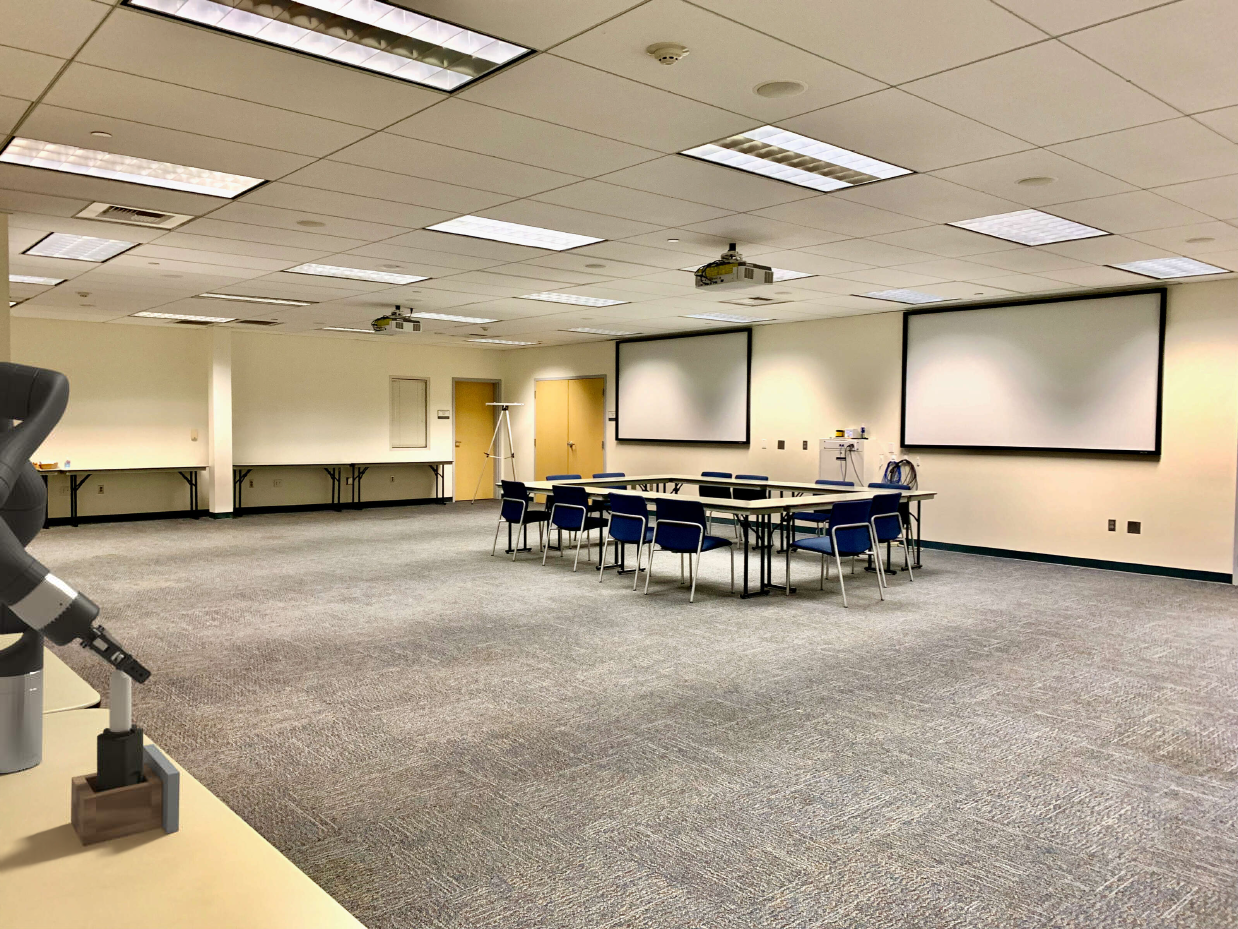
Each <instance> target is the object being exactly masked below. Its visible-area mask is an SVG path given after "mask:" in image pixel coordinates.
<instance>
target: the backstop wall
mask: <svg viewBox="0 0 1238 929" xmlns="http://www.w3.org/2000/svg"><path fill="white" fill-rule="evenodd" d="M143 763H147V764H148V766H149V767H150V768H151V769H152V770H153V771H154V773H155V774H156V775H157V776H158V777H159V779H160V780H161V781H162V782H163V788H162V827H161V828H162V829H163V830H164V831H165V833H167V834H170V833H174V832H178V831H180V830H179V829H180V827H179V825H180V788H181V787H180V783H181V782H180V780H181V779H180V778H181V777H180V775H181V773H180V771H179V770H178V769H177V768H176V767H175V765H174V764H173V763H172V762H171V761H170V760H169V759H168V758H167V757H166V755H164V754H163V752H162V751H161V750H160V749H159V748H158V747H157V745H156V744H155V743H152V744H146V745H143Z"/></svg>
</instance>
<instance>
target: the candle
mask: <svg viewBox="0 0 1238 929" xmlns="http://www.w3.org/2000/svg"><path fill="white" fill-rule="evenodd" d="M123 657H124V656H123V655H119V656H118V657H117V658H118V662H119V661H120V660H121V659H122V658H123ZM118 662H117V663H118ZM115 668H116V667H114V671H113V672H112V673H111V675H110V676H109V679H108V680H109V685H108V686H109V693H108V694H109V707H108V708H109V709H108V710H109V713H108V714H109V720H108V721H109V727H106V728H104V729H103V730H102V733H99V734H98V735H97V736H96V773H97V793H98V792H102V791H107V790H112V789H117V788H121V787H126V786H131V785H136V784H140V783H143V746H144V729H143V728H140V727H138V725H137V724H135V723H132V678H131V677H130V676H128V675H127V674H126V673H124V672H123V671H120V670H116V669H115Z"/></svg>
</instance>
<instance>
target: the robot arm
mask: <svg viewBox="0 0 1238 929" xmlns="http://www.w3.org/2000/svg"><path fill="white" fill-rule="evenodd" d="M69 398H70V382H69V380H68V377H67V375H66V374H64V373H62V372H61V371H60V372H59V371H57V370H54V369H49V368H42V367H36V366H33V365H26V364H21V363H17V362H9V361H0V635H1V636H5V635H14V634H15V635H16V634H22V635H21V637H19V639H18V640H16V641H15V642H13V643H12V644H11V645H7V647H4V648H3V649H0V774H7V773H15V772H19V770H20V771H23V769H24V770H26V768H27V769H30V768H32V767H33V768H34V767H35V766H37V765H38V763H39V764H40V763H41V762H42V761H43V730H44V729H43V728H44V727H43V726H44V724H43V723H44V720H43V718H44V667H45V666H44V663H45V662H44V659H45V658H44V656H45V654H44V652H45V638H46V639H48V641H50V642H51V643H53V644H54V645H55V646H57V647H65V646H67V645H69V644H70V643H72V642H73V641H74V640H75V639H80V640H81V641H80V642H79V643H78V646H80V647H81V649H84V650H85V652H87V653H88V654H90V655H93V656H95V657H96V658H97V659H99V660H100V661H101V662H103V663H104V664H106V665H109V664H111V665H112V666H113V667H114V670H115V669H116V670H120V671H123V672H124V673H126V674H127V675H128V676H130V677H131V680H134V681H135V682H136V683H138V684H139V685H143V684H145V682H146V681H147V680H149V678H150V677H151V676H152V672H151V671H150V670H149V669H148V668H147V667H145V666H144V665H143V664H141V663H140V662H139V661H138V660H137V659H136V658H135V657H134V655H132V654H131V653H128V652H127V651H126V650H125V647H126V646H125V645H124V643H121V642H120V641H119V640H118V639H117V638H116V637H115V636H114V635H113V633H112V632H110V630H108V629H107V628H105V627H104V626H103V625H102V624H101V623H100V624H98V625H97V626H95V625H94V624H93V623H94V621H95V620H96V619H97V618H98V616H99V615H100V612H101V609H100V606H99V605H98V604H96V603H95V602H94V601H93V600H92V599H90V598H89V597H87V596H86V595H85V594H84V593H82V592H81V591H80V590H79V589H77V588H76V587H75V586H74V585H72V584H71V583H70V582H68V580H66V579H64V578H63V577H62V576H60V575H58V574H57V573H55V572H53V571H52V570H51V569H49V568H47V567H46V565H44V564H42V563H41V562H40V561H39V560H38V559H36V558H35V557H33V556H32V555H31V554H29V553H28V552H27V550H26V549H25V548H26V547H27V546H28V545H29V544H30V543H31V542H32V541H33V540H34V539H35V538H36V536H37V535H38V534H39V533H40V532H41V530H42V528H43V527H44V524H45V520H46V509H47V498H48V491H47V487H46V484H45V481H44V479H43V477H42V476H41V474H40V473H39V471H38V469H37V467H36V466H35V465H34V464H33V463H32V460H31V457H32V456H33V455H34V453H35V452H36V451H37V450H38V449H40V447H41V445H42V444H43V443H44V442H45V440H46V439H47V437H49V435H50V434H51V433H52V432H53V430H54V428H56V426H57V425H58V423H59V422H60V421H61V419H62V417H63V415H64V413H65V412H66V409H67V407H68V402H69ZM14 421H20V422H19V423H18V424H16V425H15V423H14ZM119 655H123V656H124V657H123V658H122V659H121V660H120V661H119V662H118V658H117V657H118V656H119ZM117 662H118V663H117ZM115 667H116V668H115ZM40 761H41V762H40ZM36 764H37V765H36Z"/></svg>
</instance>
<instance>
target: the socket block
mask: <svg viewBox="0 0 1238 929" xmlns="http://www.w3.org/2000/svg"><path fill="white" fill-rule="evenodd" d="M70 787H71V790H70V792H71V793H70V795H71V798H70V800H71V801H70V802H71V803H70V805H71V806H70V823H71V825H72V828H73V829H74V831H75V833H76V835H77V837H78V839H79V841H80V842H81V844H82V846H83V847H87V846H90V845H91V846H92V845H95V844H98V843H99V844H100V843H104V842H106V841H111V840H115V839H120V838H123V837H127V836H128V837H129V836H131V835H135V834H139V833H140V834H141V833H145V832H147V831H153V830H156V829H161V828H163V827H162V788H163V782H162V781H161V780H160V779H159V777H158V776H157V775H156V774H155V773H154V771H153V770H152V769H151V768H150V767H149V766H148V764H147V763H143V783H140V784H136V785H131V786H126V787H121V788H117V789H112V790H107V791H102V792H98V793H97V772H92V773H88V774H82V775H77V776H73V777H71V786H70Z"/></svg>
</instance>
